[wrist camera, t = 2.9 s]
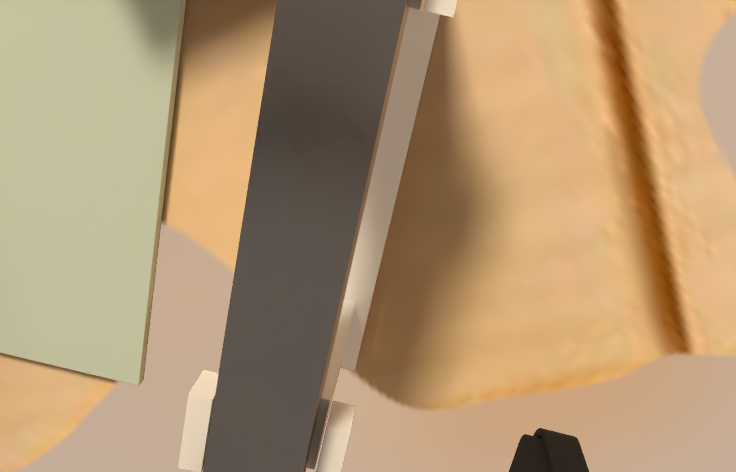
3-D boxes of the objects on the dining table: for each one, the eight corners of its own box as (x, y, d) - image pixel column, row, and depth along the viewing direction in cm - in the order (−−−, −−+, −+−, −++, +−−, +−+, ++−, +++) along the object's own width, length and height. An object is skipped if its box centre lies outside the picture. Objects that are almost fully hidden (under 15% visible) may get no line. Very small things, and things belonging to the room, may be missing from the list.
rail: (335, -201, 17) (316, -246, 14) (450, -175, 16) (454, -215, 14) (219, 481, 24) (191, 543, 21) (299, 500, 24) (281, 565, 21)
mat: (-44, -192, 26) (-55, -197, 25) (201, -136, 25) (196, -140, 25) (-43, 334, 34) (-52, 340, 33) (143, 379, 33) (138, 385, 33)
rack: (332, -107, 25) (270, -185, 15) (467, -76, 25) (490, -135, 15) (254, 336, 32) (176, 479, 22) (360, 361, 32) (329, 516, 22)
